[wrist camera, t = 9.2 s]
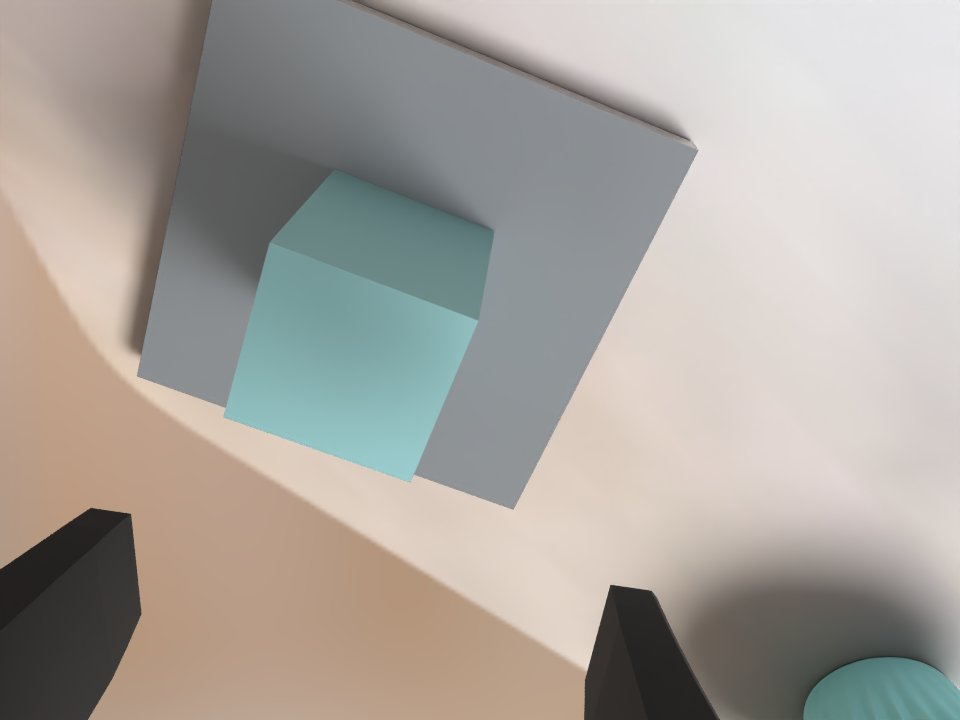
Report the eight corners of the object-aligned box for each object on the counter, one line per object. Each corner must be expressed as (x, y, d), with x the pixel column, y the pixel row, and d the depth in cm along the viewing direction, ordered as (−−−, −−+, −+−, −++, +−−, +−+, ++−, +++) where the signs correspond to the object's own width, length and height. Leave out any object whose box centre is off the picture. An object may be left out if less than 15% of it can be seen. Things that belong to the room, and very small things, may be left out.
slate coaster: (692, 141, 19) (698, 150, 18) (514, 492, 24) (513, 509, 23) (235, -49, 18) (222, -48, 17) (149, 362, 23) (137, 376, 22)
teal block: (494, 231, 19) (478, 320, 15) (439, 367, 21) (410, 482, 17) (334, 169, 19) (269, 242, 15) (292, 313, 21) (223, 417, 16)
